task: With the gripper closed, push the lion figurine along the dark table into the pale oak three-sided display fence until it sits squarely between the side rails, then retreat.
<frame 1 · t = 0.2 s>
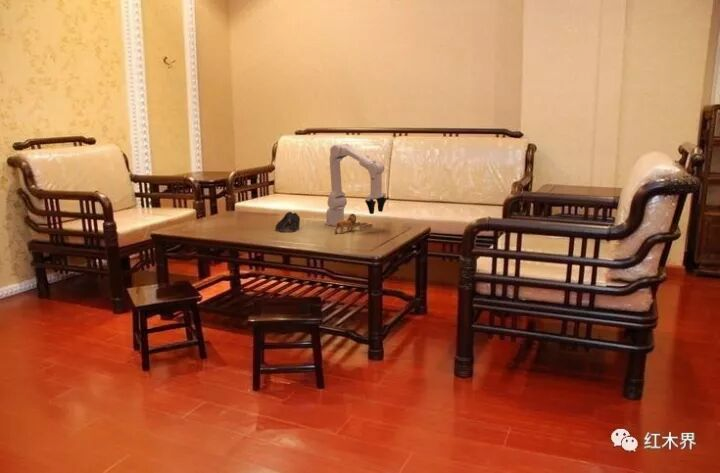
hand: (376, 212, 300), 10 cm above the table, fingers open, 7 cm apart
lion figurine: (345, 232, 303), on the table
crystal cluster: (288, 230, 309), on the table
fence: (358, 228, 311), on the table
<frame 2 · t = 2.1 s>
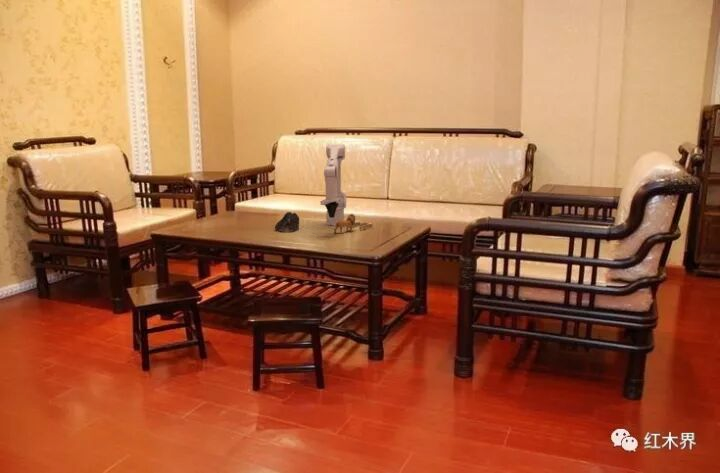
hand: (331, 217, 292), 10 cm above the table, fingers closed
nothing on the table moved.
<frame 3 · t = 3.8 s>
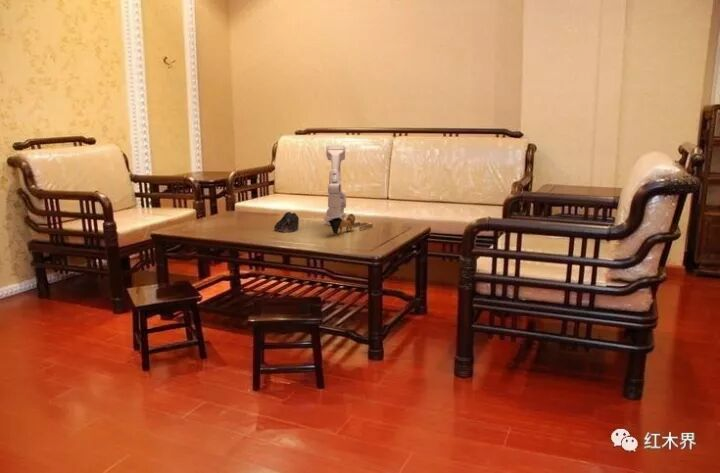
hand: (335, 232, 296), 1 cm above the table, fingers closed
lion figurine: (344, 232, 302), on the table, touching gripper
everything else where it was.
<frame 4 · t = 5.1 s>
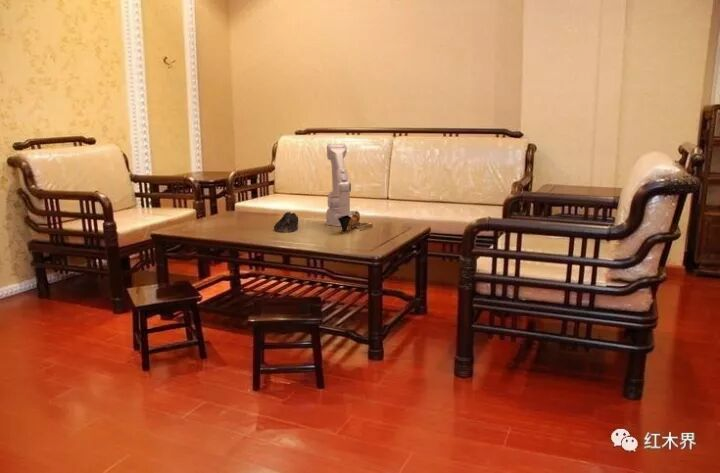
hand: (344, 230, 301), 1 cm above the table, fingers closed
lion figurine: (351, 229, 309), on the table, touching gripper
everything else where it was.
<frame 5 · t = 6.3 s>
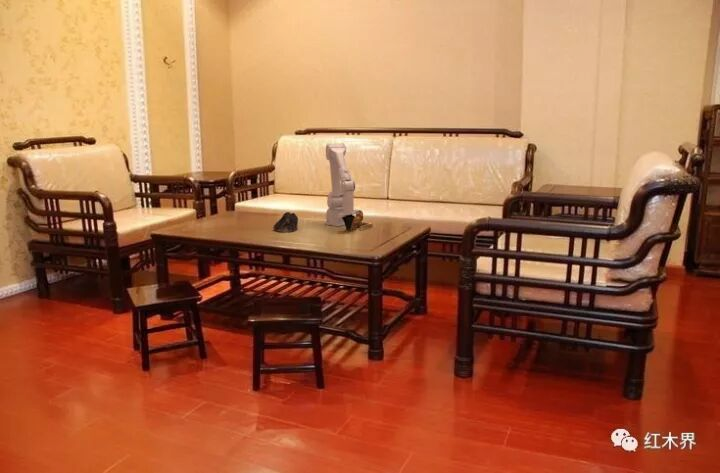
hand: (348, 229, 304), 1 cm above the table, fingers closed
lion figurine: (354, 228, 311), on the table, touching gripper
everything else where it was.
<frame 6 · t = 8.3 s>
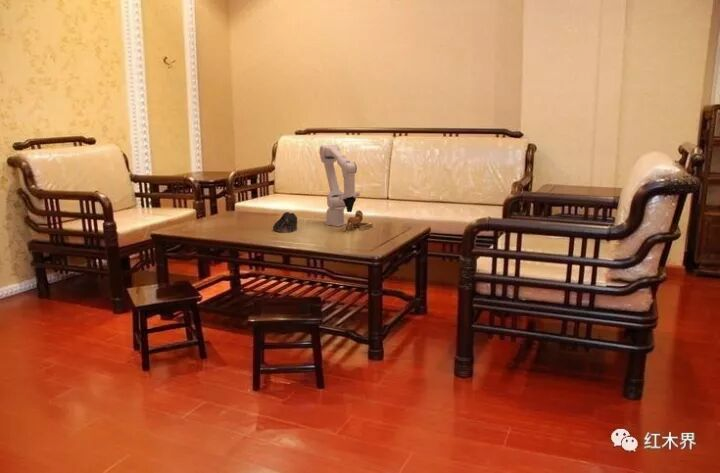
hand: (349, 211, 305), 10 cm above the table, fingers closed
lion figurine: (354, 228, 311), on the table
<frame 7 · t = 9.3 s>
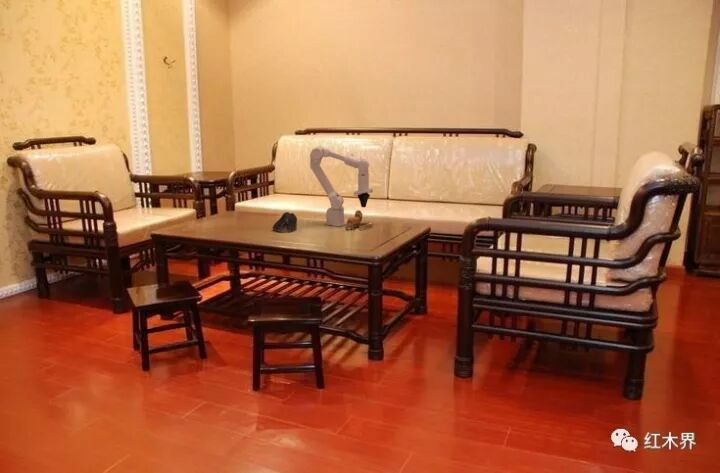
hand: (363, 207, 317), 10 cm above the table, fingers closed
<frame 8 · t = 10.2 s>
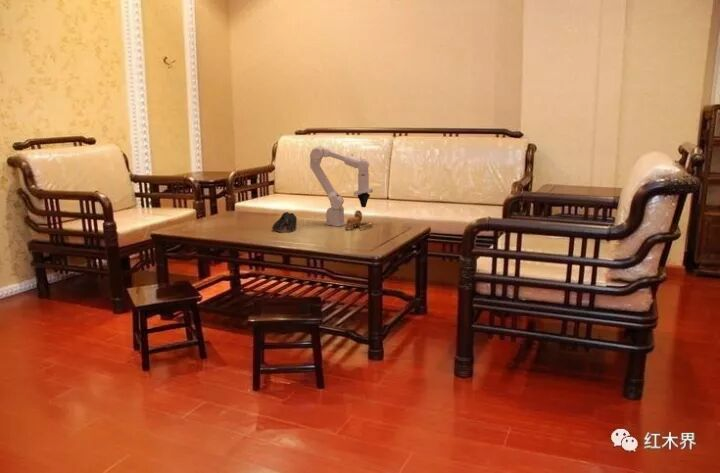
hand: (363, 207, 317), 10 cm above the table, fingers closed
at the end: lion figurine inside the target area on the fence (2.0 cm from its centre), point 0.0 cm above the fence's base; lion figurine tilted 0°; lion figurine moved 8.9 cm from its start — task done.
